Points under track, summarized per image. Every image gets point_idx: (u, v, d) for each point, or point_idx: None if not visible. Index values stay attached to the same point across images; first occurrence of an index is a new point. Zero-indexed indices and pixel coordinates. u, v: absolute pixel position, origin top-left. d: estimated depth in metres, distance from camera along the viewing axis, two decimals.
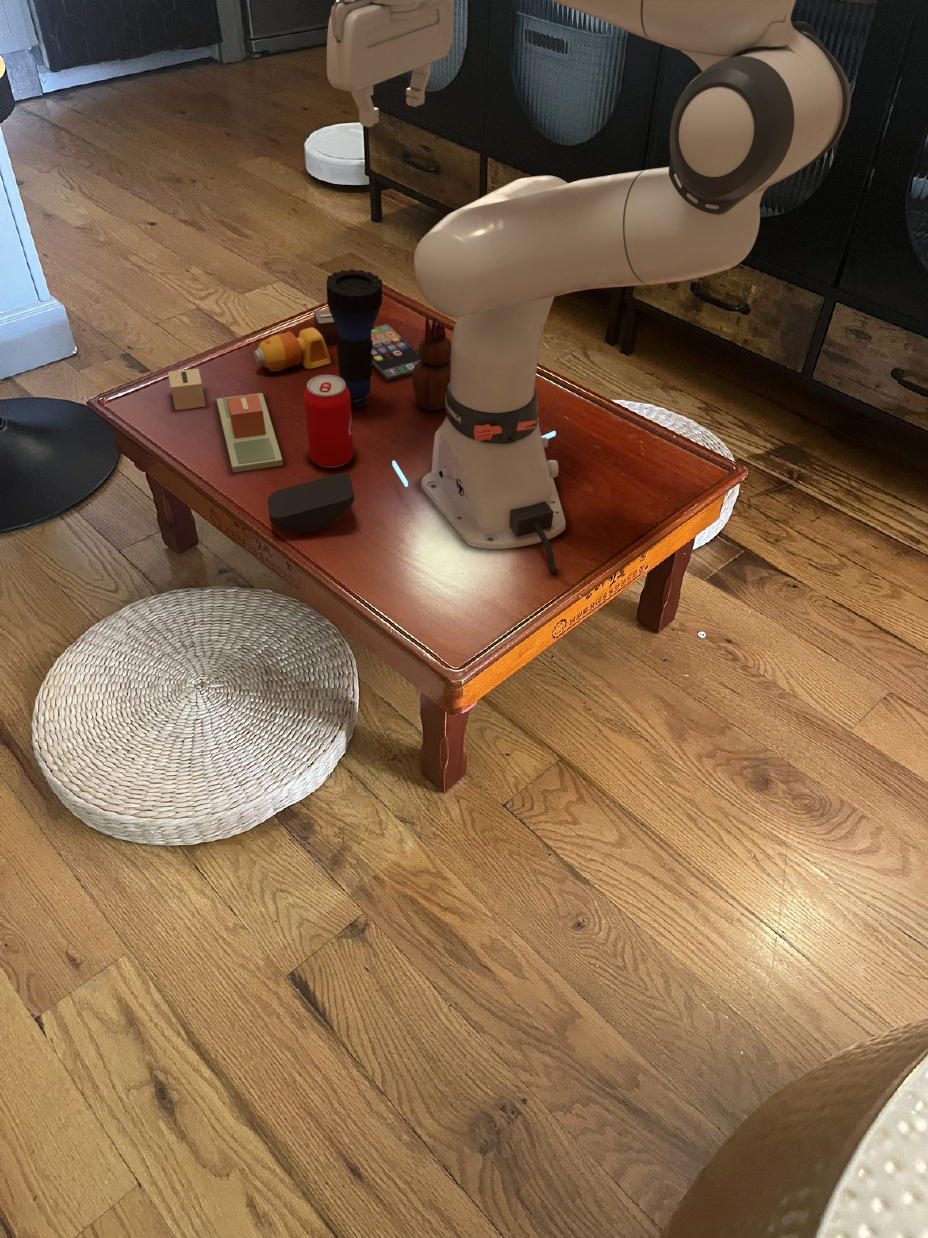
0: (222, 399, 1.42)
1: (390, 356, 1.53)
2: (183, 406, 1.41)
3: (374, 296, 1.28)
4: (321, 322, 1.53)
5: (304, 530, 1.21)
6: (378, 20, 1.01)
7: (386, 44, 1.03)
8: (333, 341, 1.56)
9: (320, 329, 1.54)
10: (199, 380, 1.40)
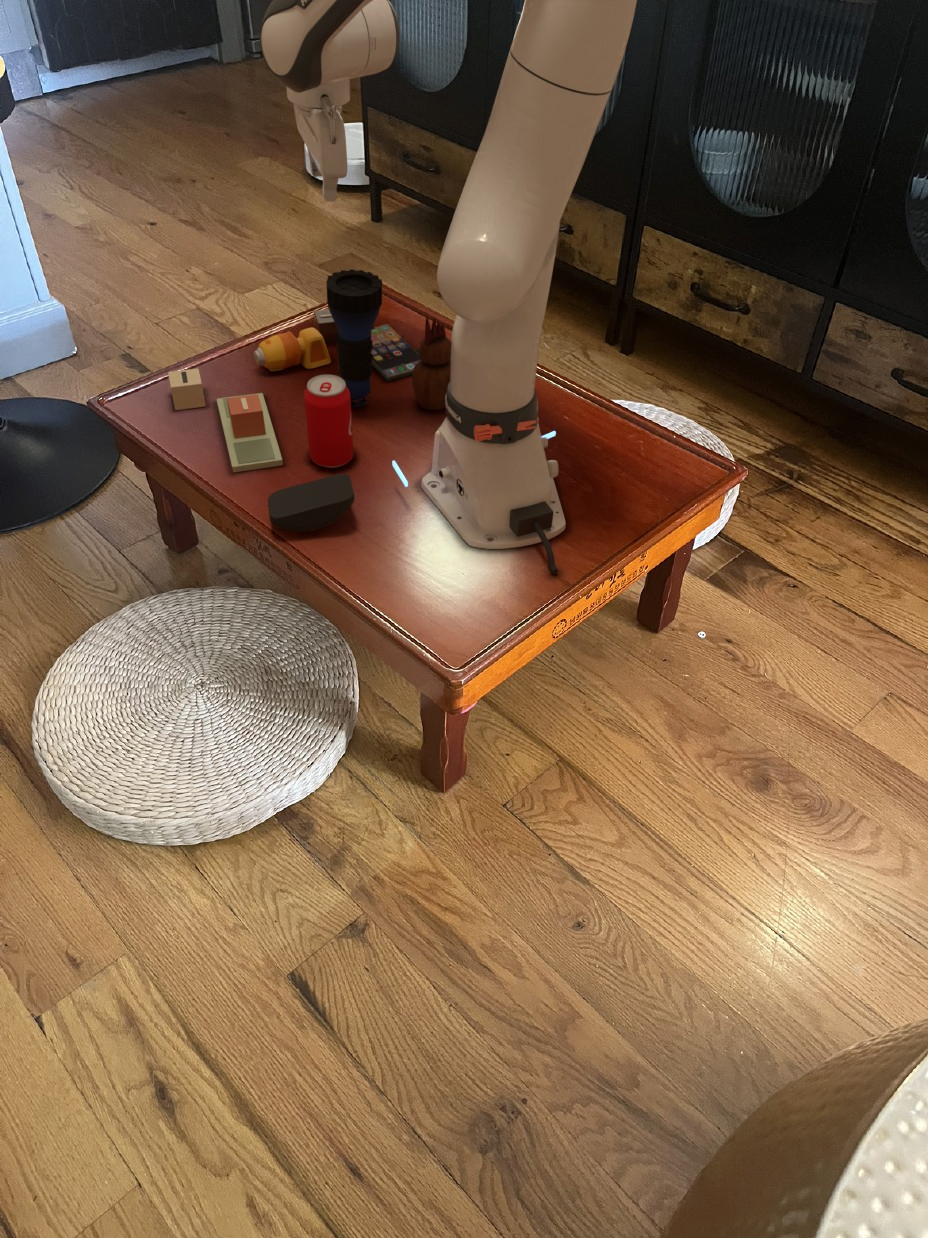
0: (222, 399, 1.42)
1: (390, 356, 1.53)
2: (183, 406, 1.41)
3: (374, 296, 1.28)
4: (321, 322, 1.53)
5: (304, 530, 1.21)
6: None
7: None
8: (333, 341, 1.56)
9: (320, 329, 1.54)
10: (199, 380, 1.40)
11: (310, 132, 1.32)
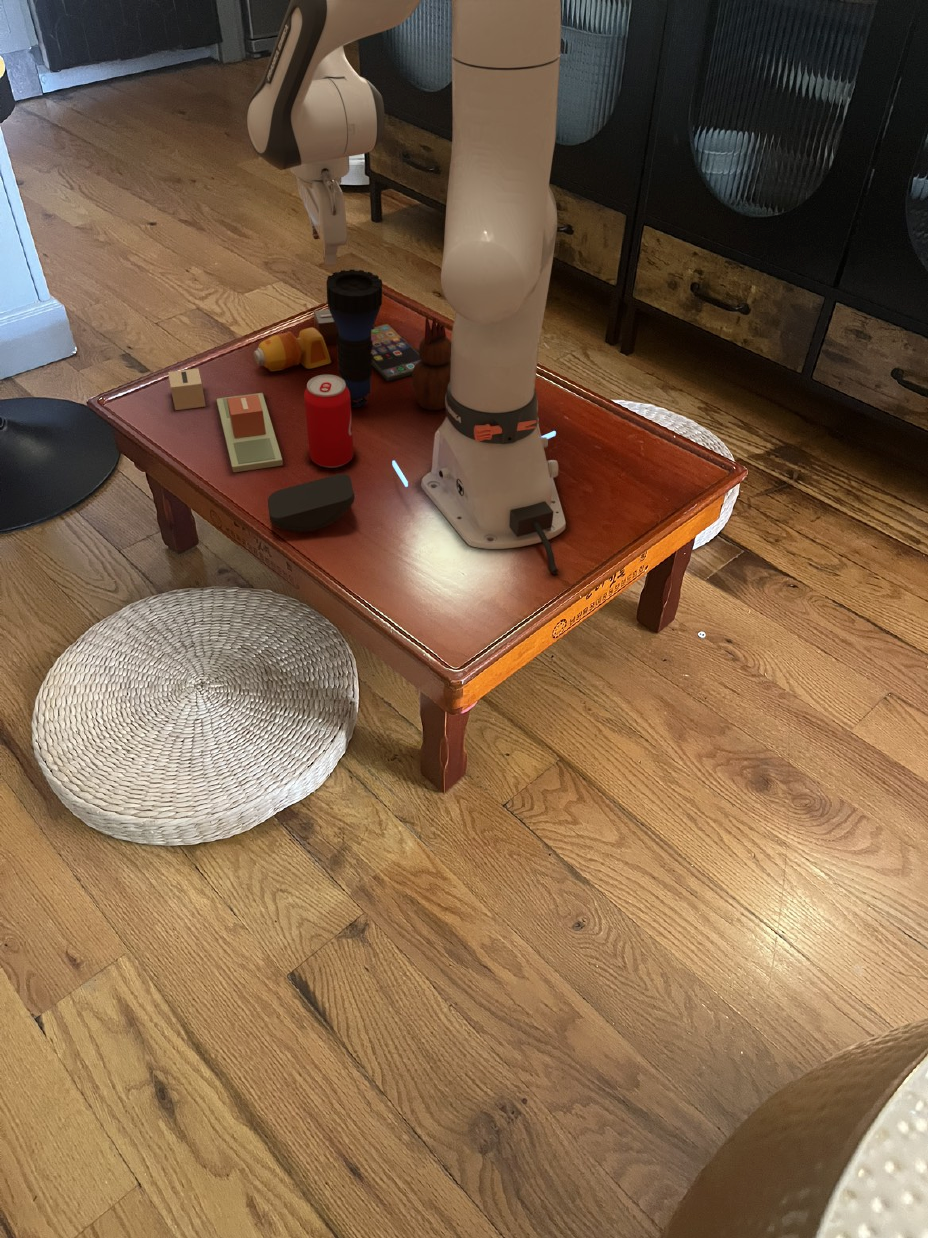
0: (222, 399, 1.42)
1: (390, 356, 1.53)
2: (183, 406, 1.41)
3: (374, 296, 1.28)
4: (321, 322, 1.53)
5: (304, 530, 1.21)
6: None
7: None
8: (333, 341, 1.56)
9: (320, 329, 1.54)
10: (199, 380, 1.40)
11: (311, 201, 1.40)
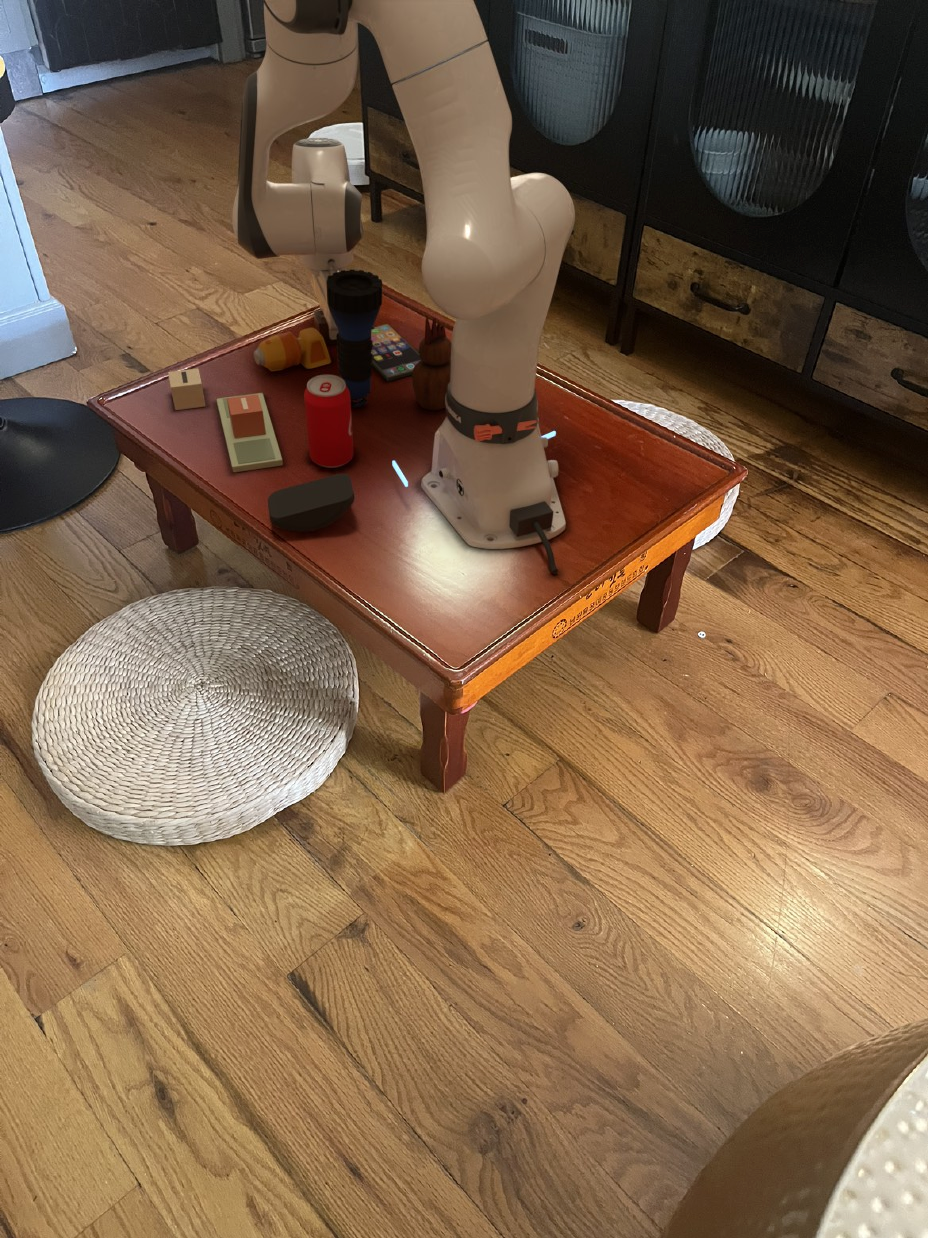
0: (222, 399, 1.42)
1: (390, 356, 1.53)
2: (183, 406, 1.41)
3: (374, 296, 1.28)
4: (322, 322, 1.53)
5: (304, 530, 1.21)
6: None
7: None
8: (333, 341, 1.56)
9: (320, 329, 1.54)
10: (199, 380, 1.40)
11: (318, 287, 1.49)
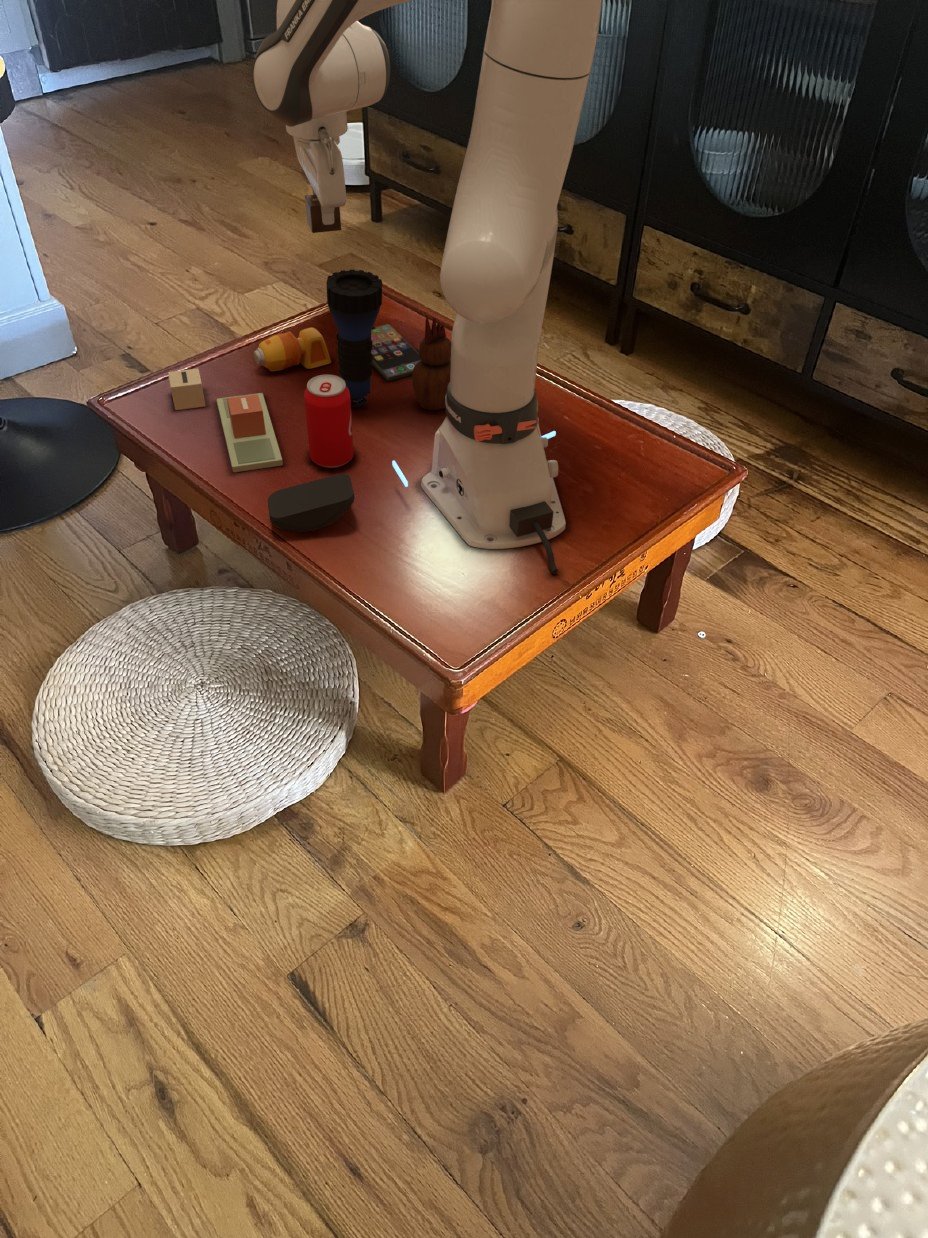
0: (222, 399, 1.42)
1: (390, 356, 1.53)
2: (183, 406, 1.41)
3: (374, 296, 1.28)
4: (313, 205, 1.40)
5: (304, 530, 1.21)
6: None
7: None
8: (326, 228, 1.43)
9: (312, 213, 1.40)
10: (199, 380, 1.40)
11: (309, 163, 1.36)
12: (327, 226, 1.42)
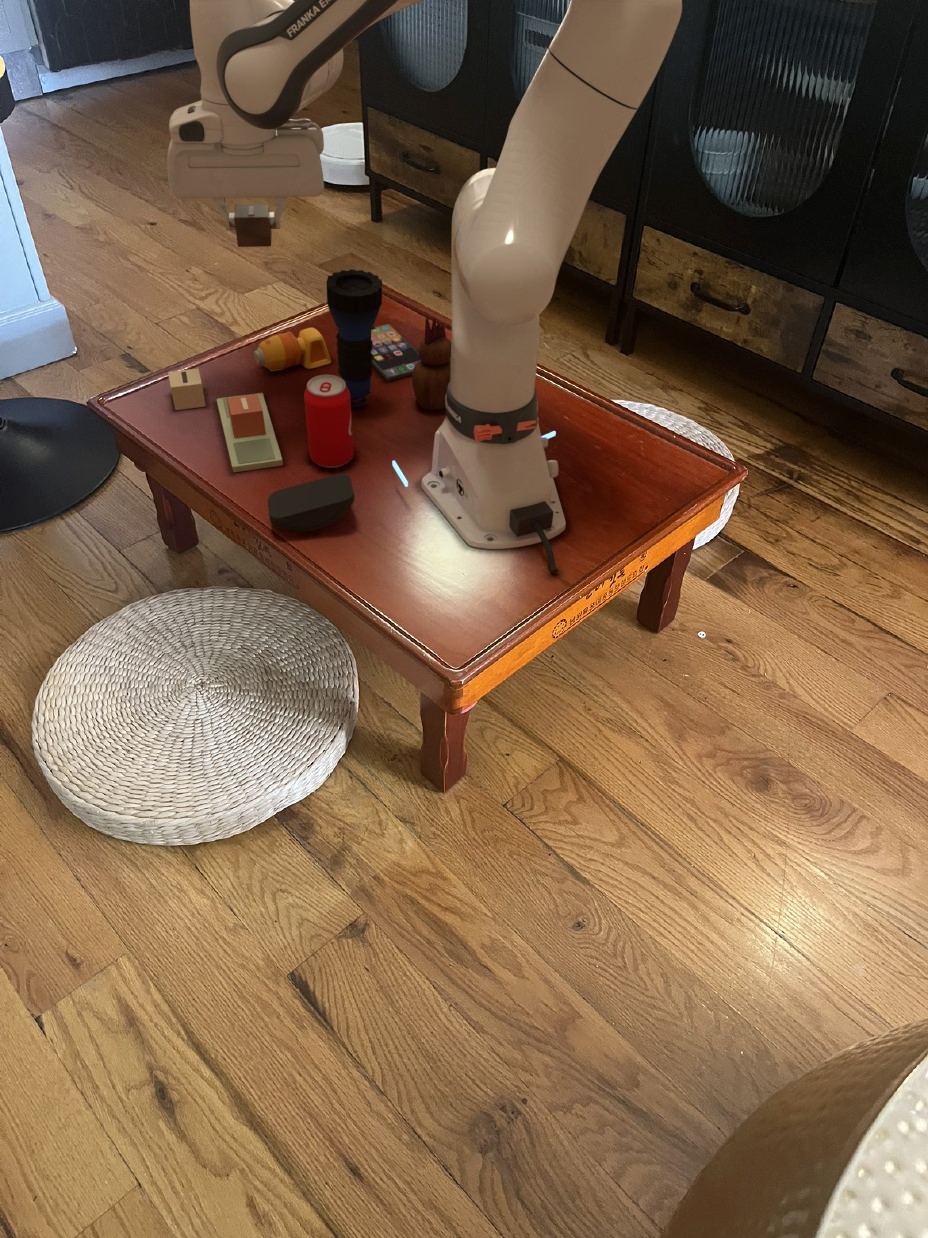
0: (222, 399, 1.42)
1: (390, 356, 1.53)
2: (183, 406, 1.41)
3: (374, 296, 1.28)
4: (266, 215, 1.26)
5: (304, 530, 1.21)
6: None
7: None
8: None
9: (269, 224, 1.26)
10: (199, 380, 1.40)
11: (259, 169, 1.22)
12: None
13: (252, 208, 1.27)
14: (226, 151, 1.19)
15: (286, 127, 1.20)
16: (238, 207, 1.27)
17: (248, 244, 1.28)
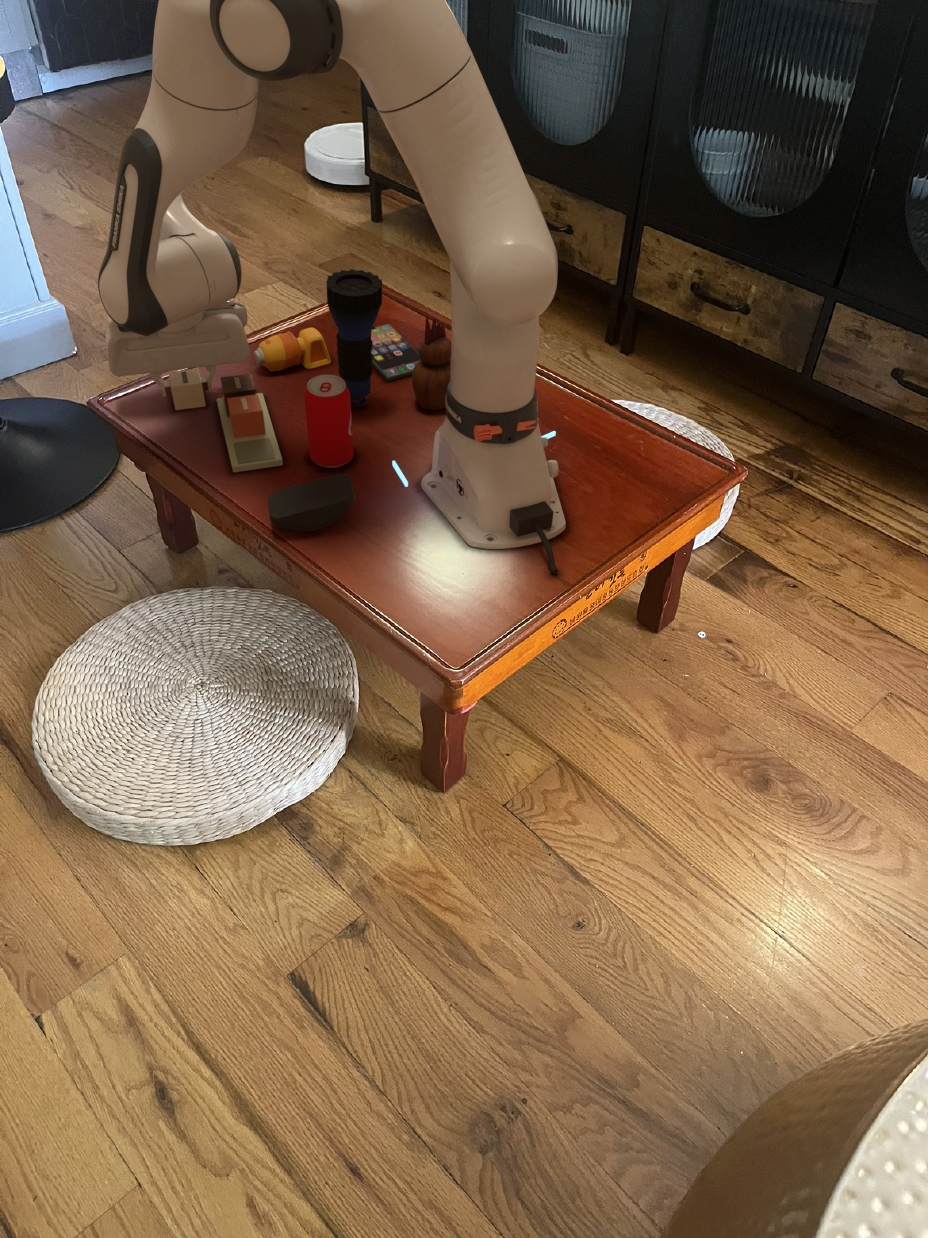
0: (222, 399, 1.42)
1: (390, 356, 1.53)
2: (183, 406, 1.41)
3: (374, 296, 1.28)
4: (252, 387, 1.37)
5: (304, 530, 1.21)
6: None
7: None
8: None
9: None
10: (199, 380, 1.40)
11: (191, 346, 1.35)
12: None
13: (237, 380, 1.38)
14: (161, 335, 1.32)
15: (213, 308, 1.34)
16: (224, 380, 1.38)
17: None
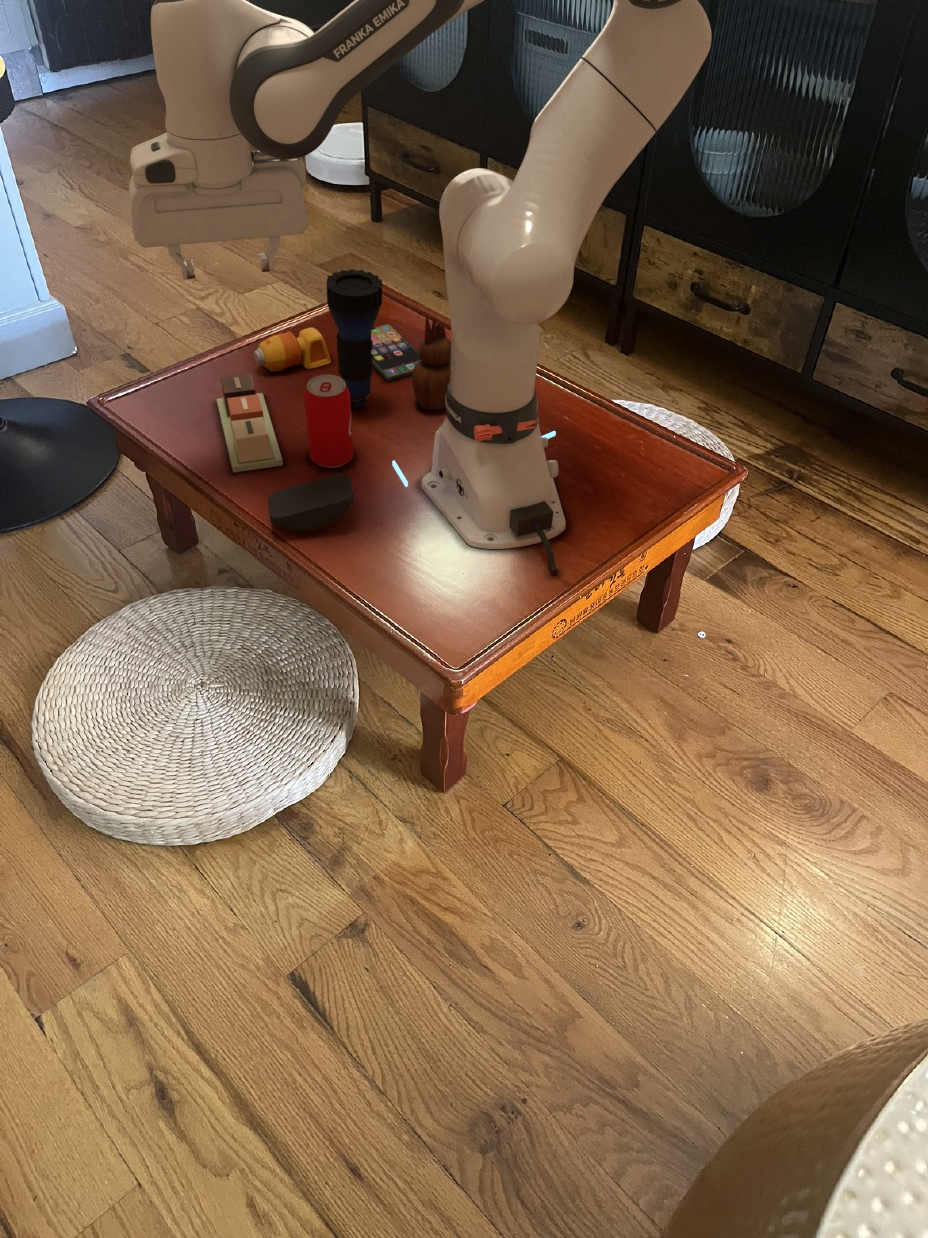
0: (222, 399, 1.42)
1: (390, 356, 1.53)
2: (247, 458, 1.30)
3: (374, 296, 1.28)
4: (252, 387, 1.37)
5: (304, 530, 1.21)
6: None
7: None
8: None
9: None
10: (265, 430, 1.29)
11: (236, 209, 1.07)
12: None
13: (237, 380, 1.38)
14: (199, 191, 1.04)
15: (264, 160, 1.06)
16: (224, 380, 1.38)
17: None
